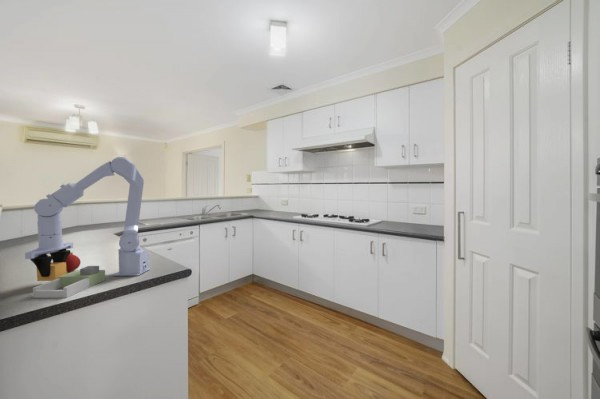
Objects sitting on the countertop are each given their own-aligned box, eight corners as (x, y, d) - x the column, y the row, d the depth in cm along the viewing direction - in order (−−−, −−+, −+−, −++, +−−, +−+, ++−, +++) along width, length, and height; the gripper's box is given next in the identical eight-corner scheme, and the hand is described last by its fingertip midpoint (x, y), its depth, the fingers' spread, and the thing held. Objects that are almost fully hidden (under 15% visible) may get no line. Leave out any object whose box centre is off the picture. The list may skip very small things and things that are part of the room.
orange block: (66, 276, 87) (65, 262, 87) (55, 280, 83) (54, 265, 83) (49, 276, 87) (48, 262, 87) (37, 280, 83) (36, 266, 83)
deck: (105, 279, 90) (104, 264, 90) (67, 297, 75) (66, 279, 75) (77, 279, 90) (76, 264, 90) (33, 297, 75) (32, 279, 75)
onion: (68, 275, 94) (67, 254, 94) (56, 274, 95) (55, 253, 95) (84, 271, 100) (83, 251, 99) (72, 270, 101) (72, 250, 101)
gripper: (58, 230, 92) (60, 267, 93) (14, 238, 78) (16, 282, 78) (78, 230, 92) (79, 267, 93) (37, 238, 78) (39, 281, 78)
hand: (52, 274), depth 85 cm, fingers closed on orange block, 4 cm apart
